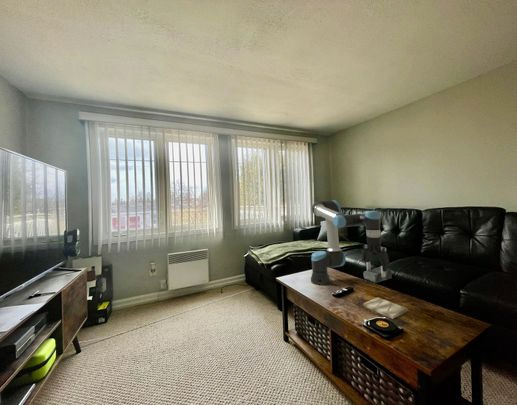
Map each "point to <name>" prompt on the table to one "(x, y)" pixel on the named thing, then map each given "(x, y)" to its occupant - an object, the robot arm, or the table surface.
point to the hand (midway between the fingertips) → (376, 274)
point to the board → (385, 307)
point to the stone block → (376, 275)
